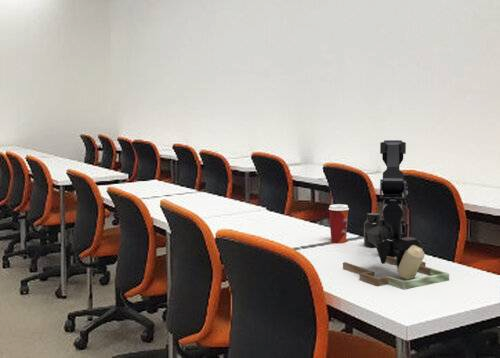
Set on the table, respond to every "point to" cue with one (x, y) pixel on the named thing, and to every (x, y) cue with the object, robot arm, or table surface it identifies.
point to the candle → (410, 262)
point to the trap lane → (370, 278)
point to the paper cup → (338, 222)
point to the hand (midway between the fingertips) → (391, 266)
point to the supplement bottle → (369, 224)
